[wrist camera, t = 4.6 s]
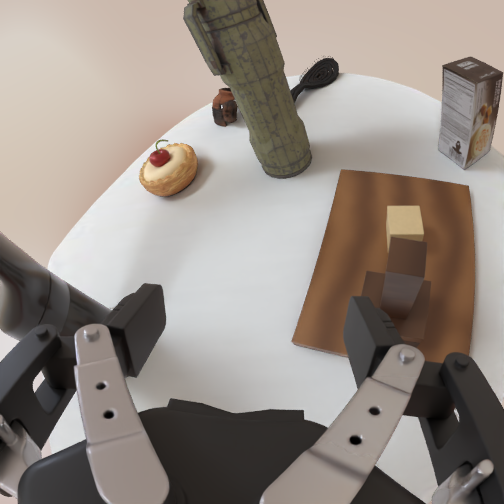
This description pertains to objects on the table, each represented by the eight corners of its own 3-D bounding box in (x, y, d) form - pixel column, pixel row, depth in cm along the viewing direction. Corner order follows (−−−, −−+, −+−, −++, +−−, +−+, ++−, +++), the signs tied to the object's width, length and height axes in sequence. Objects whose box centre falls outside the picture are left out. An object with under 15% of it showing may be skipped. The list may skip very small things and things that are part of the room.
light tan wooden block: (387, 253, 32) (389, 234, 29) (386, 225, 34) (387, 205, 31) (419, 253, 31) (424, 234, 27) (415, 225, 32) (419, 205, 29)
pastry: (142, 203, 56) (116, 174, 49) (166, 162, 61) (145, 133, 54) (189, 200, 51) (163, 166, 44) (211, 155, 56) (191, 121, 49)
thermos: (324, 143, 47) (262, -52, 20) (292, 190, 44) (197, -38, 16) (282, 136, 52) (211, -36, 24) (248, 178, 49) (147, -12, 21)
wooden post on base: (353, 337, 29) (351, 287, 18) (365, 286, 31) (365, 214, 21) (415, 348, 25) (451, 304, 15) (424, 296, 28) (453, 227, 18)
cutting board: (293, 344, 32) (291, 341, 31) (342, 176, 42) (340, 169, 41) (461, 377, 23) (465, 375, 22) (466, 192, 33) (468, 185, 32)
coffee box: (464, 132, 39) (471, 55, 26) (490, 151, 35) (504, 72, 22) (436, 149, 39) (441, 63, 26) (464, 171, 35) (479, 83, 22)
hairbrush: (259, 103, 56) (315, 54, 62) (265, 116, 59) (318, 65, 64) (291, 107, 52) (343, 56, 57) (296, 121, 55) (346, 68, 60)
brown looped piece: (212, 117, 66) (215, 86, 61) (250, 120, 67) (254, 89, 62) (208, 131, 57) (211, 93, 52) (253, 134, 58) (258, 97, 53)
